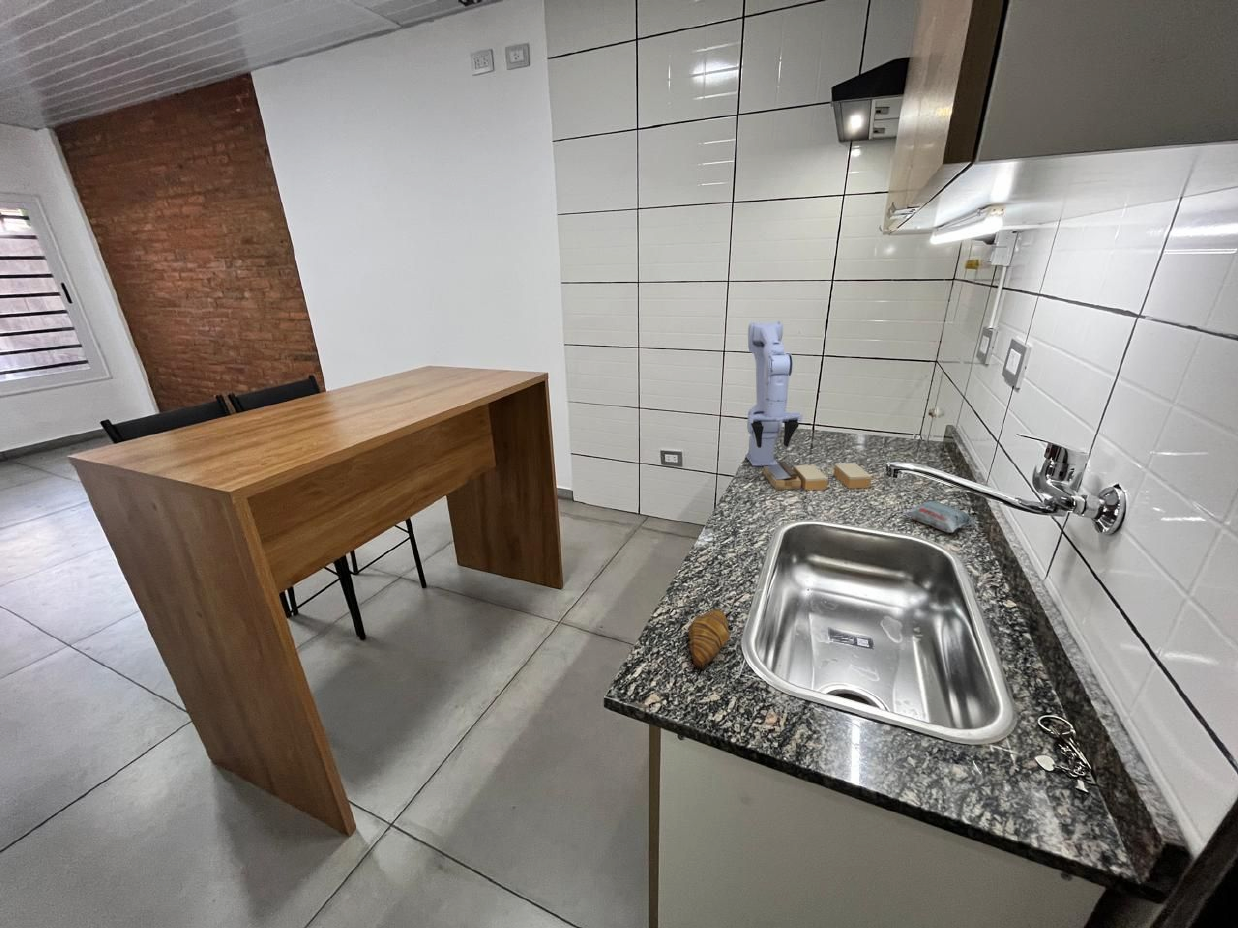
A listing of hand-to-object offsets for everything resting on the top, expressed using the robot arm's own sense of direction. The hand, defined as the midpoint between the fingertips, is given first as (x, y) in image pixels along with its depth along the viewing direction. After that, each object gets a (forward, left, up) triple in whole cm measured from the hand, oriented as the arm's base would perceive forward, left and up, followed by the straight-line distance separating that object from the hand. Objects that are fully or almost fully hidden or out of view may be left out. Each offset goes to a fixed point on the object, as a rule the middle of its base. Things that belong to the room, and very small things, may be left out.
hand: (772, 446), depth 138 cm
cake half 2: (+3, +22, -10) cm, 25 cm away
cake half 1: (+3, +10, -10) cm, 15 cm away
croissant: (+66, -30, -11) cm, 73 cm away
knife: (+1, 0, -8) cm, 8 cm away
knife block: (+1, +3, -10) cm, 11 cm away
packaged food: (+30, +30, -11) cm, 44 cm away
